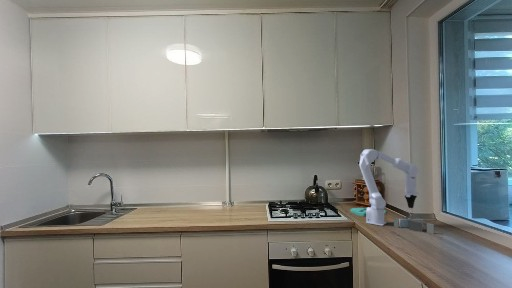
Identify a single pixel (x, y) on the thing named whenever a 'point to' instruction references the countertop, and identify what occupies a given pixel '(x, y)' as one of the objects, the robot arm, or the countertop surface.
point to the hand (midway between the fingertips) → (410, 207)
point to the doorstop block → (416, 225)
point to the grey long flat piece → (429, 226)
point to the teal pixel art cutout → (360, 211)
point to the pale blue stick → (407, 222)
